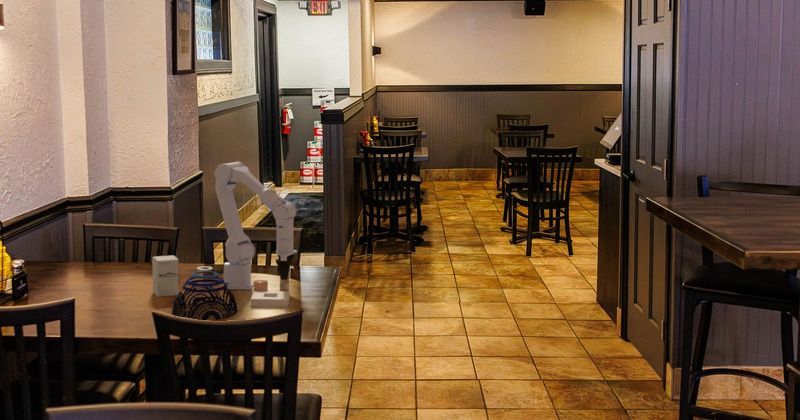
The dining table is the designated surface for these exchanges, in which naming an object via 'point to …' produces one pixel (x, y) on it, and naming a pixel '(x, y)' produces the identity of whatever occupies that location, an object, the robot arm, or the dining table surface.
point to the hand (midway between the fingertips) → (284, 276)
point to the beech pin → (284, 284)
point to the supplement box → (165, 276)
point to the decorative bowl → (194, 283)
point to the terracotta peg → (260, 285)
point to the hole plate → (270, 298)
